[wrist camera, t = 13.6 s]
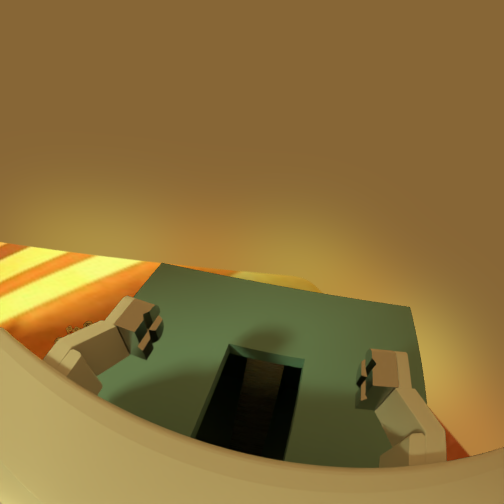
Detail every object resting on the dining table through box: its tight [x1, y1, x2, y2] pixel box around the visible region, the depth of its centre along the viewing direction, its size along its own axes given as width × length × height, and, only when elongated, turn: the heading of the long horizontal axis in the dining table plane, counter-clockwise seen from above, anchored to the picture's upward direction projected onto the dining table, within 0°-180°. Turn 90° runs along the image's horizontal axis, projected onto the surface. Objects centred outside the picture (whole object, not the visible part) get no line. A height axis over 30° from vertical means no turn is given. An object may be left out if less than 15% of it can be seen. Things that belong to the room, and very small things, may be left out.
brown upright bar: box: [229, 358, 284, 457], centre depth 19 cm, size 5×2×10 cm
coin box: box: [97, 263, 427, 468], centre depth 16 cm, size 20×20×14 cm
